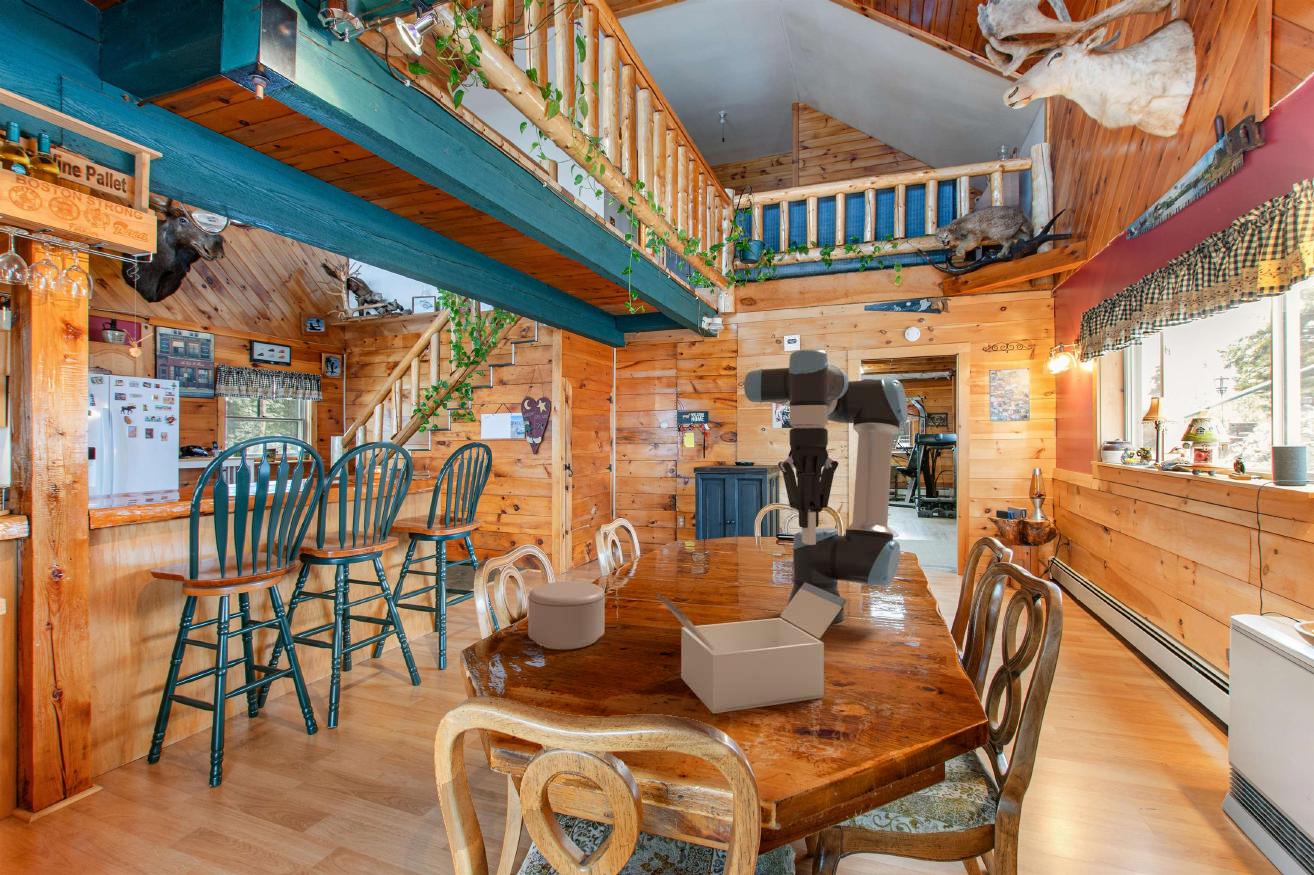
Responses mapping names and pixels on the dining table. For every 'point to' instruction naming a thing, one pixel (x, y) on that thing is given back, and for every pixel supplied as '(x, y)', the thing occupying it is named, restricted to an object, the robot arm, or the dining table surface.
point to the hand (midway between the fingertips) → (808, 543)
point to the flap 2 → (813, 609)
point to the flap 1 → (685, 621)
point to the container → (566, 614)
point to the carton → (752, 664)
